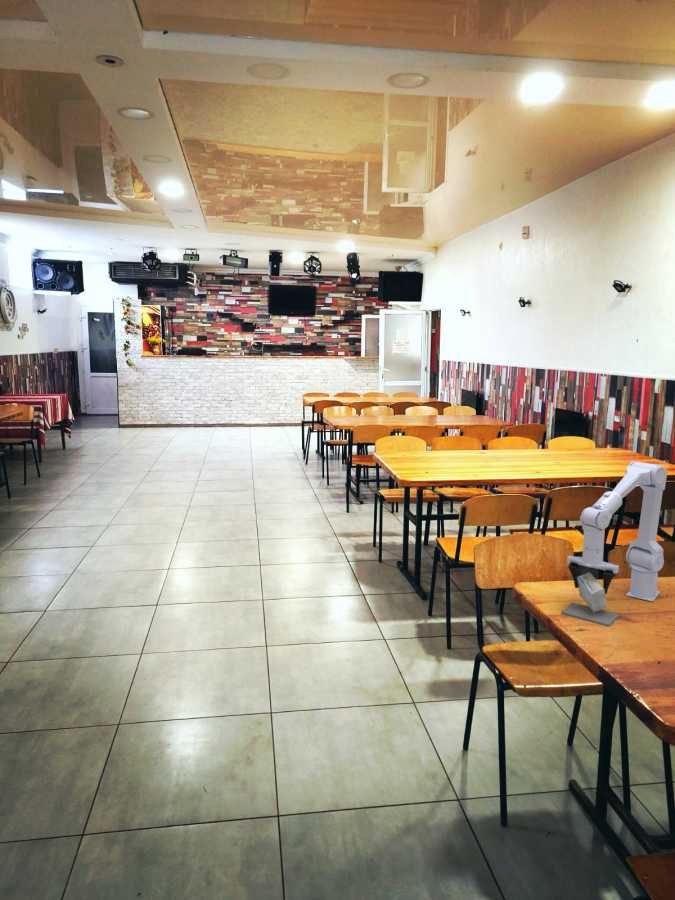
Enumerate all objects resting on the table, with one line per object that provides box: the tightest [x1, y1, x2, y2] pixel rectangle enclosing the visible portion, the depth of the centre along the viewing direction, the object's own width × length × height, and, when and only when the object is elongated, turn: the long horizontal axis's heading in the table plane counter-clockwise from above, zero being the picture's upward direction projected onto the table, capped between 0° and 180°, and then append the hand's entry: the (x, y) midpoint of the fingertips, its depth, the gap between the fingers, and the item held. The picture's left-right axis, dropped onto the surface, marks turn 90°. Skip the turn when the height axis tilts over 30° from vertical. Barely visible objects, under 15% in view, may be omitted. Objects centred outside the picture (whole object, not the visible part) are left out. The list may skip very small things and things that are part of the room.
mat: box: [560, 602, 620, 627], centre depth 180 cm, size 9×14×1 cm, turn 49°
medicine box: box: [577, 572, 607, 612], centre depth 181 cm, size 8×4×9 cm, turn 12°
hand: (590, 590), depth 182 cm, fingers open, 7 cm apart
